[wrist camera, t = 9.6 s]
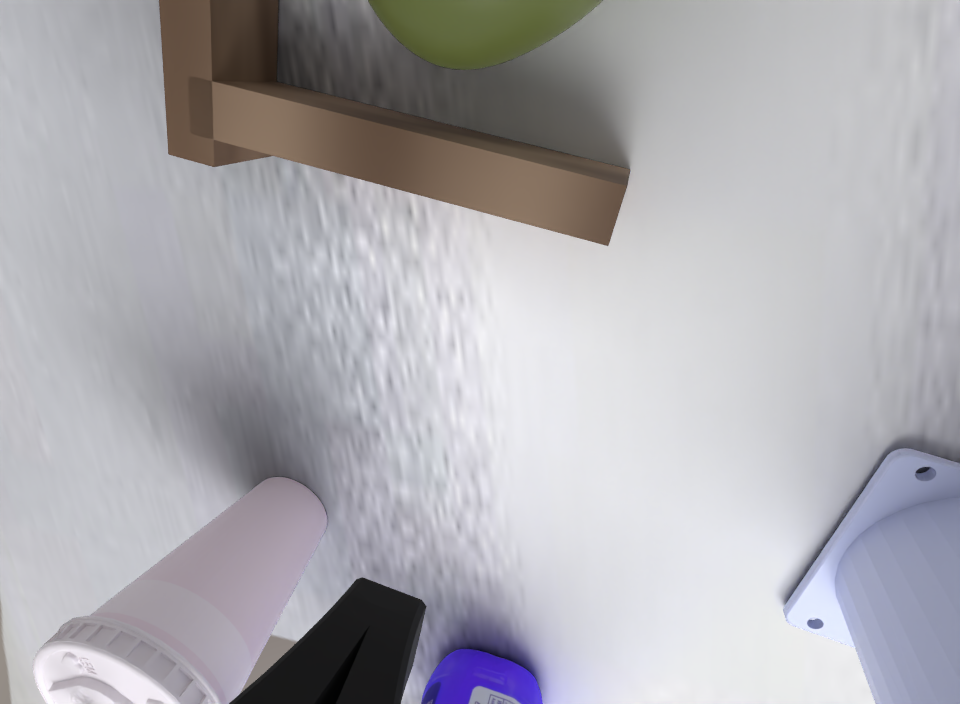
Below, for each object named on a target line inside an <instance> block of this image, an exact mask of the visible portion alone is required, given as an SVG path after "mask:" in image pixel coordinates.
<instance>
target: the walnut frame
mask: <svg viewBox="0 0 960 704" xmlns="http://www.w3.org/2000/svg"><path fill="white" fill-rule="evenodd" d="M278 3H279V0H159V6H160V22H161V39H162V55H163V72H164V88H165V104H166V121H167V137H168V154H169V155H173V156H176V157H180V158H184V159H187V160H191V161H194V162H198V163H202V164H205V165H209V166H212V167H217V166H222V165H227V164H233V163H238V162H243V161H248V160H254V159H259V158H264V157H269V156H276V157H280V158H283V159H287V160H291V161H295V162H298V163H302V164H306V165H309V166H313V167H317V168H321V169H324V170H328V171H332V172H335V173H339V174H343V175H347V176H350V177H354V178H358V179H361V180H365V181H369V182H373V183H376V184H380V185H384V186H387V187H391V188H395V189H399V190H402V191H406V192H410V193H413V194H417V195H421V196H425V197H428V198H432V199H436V200H439V201H443V202H447V203H451V204H454V205H458V206H462V207H465V208H469V209H473V210H477V211H480V212H484V213H488V214H491V215H495V216H499V217H503V218H506V219H510V220H514V221H517V222H521V223H525V224H529V225H532V226H536V227H540V228H543V229H547V230H551V231H555V232H558V233H562V234H566V235H569V236H573V237H577V238H581V239H584V240H588V241H592V242H595V243H599V244H603V245H607V246H608V245H609V242H610V239H611V235H612V232H613V229H614V226H615V223H616V220H617V216H618V213H619V210H620V207H621V204H622V201H623V197H624V194H625V191H626V188H627V184H628V179H629V174H630V169H626V168H622V167H618V166H614V165H610V164H606V163H602V162H598V161H594V160H590V159H586V158H582V157H578V156H574V155H570V154H566V153H562V152H558V151H554V150H550V149H546V148H542V147H538V146H534V145H529V144H525V143H521V142H517V141H513V140H509V139H505V138H501V137H497V136H493V135H489V134H485V133H481V132H477V131H473V130H469V129H465V128H461V127H457V126H453V125H449V124H445V123H441V122H437V121H433V120H429V119H425V118H421V117H417V116H413V115H409V114H404V113H400V112H396V111H392V110H388V109H384V108H380V107H376V106H372V105H368V104H364V103H360V102H356V101H352V100H348V99H344V98H340V97H336V96H332V95H328V94H324V93H320V92H316V91H312V90H308V89H304V88H300V87H296V86H292V85H288V84H284V83H280V82H277V44H278Z"/></svg>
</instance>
